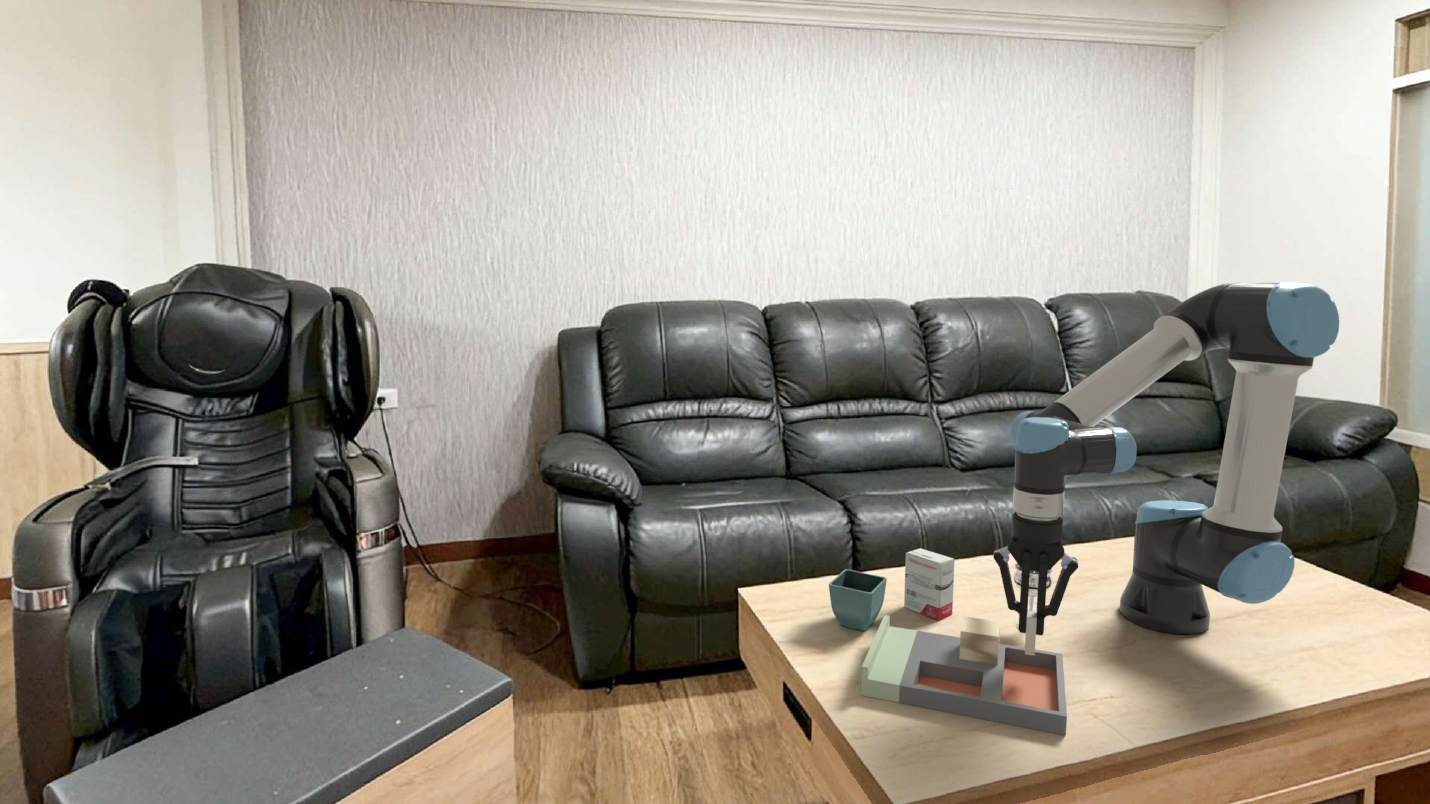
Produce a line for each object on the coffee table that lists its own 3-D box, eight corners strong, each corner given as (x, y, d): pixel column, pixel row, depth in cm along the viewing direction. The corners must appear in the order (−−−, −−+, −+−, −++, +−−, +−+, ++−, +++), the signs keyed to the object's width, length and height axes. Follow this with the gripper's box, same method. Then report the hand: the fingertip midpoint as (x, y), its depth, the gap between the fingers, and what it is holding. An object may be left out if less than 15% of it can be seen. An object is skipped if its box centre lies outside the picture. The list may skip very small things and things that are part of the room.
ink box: (953, 614, 151) (955, 557, 149) (939, 621, 148) (940, 563, 146) (917, 600, 157) (919, 546, 155) (903, 607, 154) (904, 552, 152)
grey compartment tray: (1061, 670, 129) (1063, 642, 128) (1065, 735, 111) (1067, 704, 110) (883, 640, 140) (884, 615, 139) (861, 695, 122) (861, 666, 121)
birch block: (999, 648, 130) (1000, 621, 129) (997, 665, 125) (998, 637, 124) (962, 643, 133) (963, 616, 132) (959, 658, 127) (960, 631, 126)
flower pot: (870, 638, 141) (871, 593, 140) (827, 628, 146) (827, 583, 144) (886, 620, 148) (887, 577, 147) (844, 610, 153) (845, 568, 152)
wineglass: (1054, 627, 145) (1058, 567, 143) (1041, 639, 140) (1045, 578, 138) (1018, 616, 149) (1021, 558, 147) (1005, 628, 144) (1008, 568, 142)
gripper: (993, 516, 121) (986, 654, 124) (1083, 525, 116) (1074, 669, 119) (995, 503, 127) (989, 635, 131) (1080, 511, 123) (1071, 647, 126)
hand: (1029, 651), depth 125 cm, fingers closed
